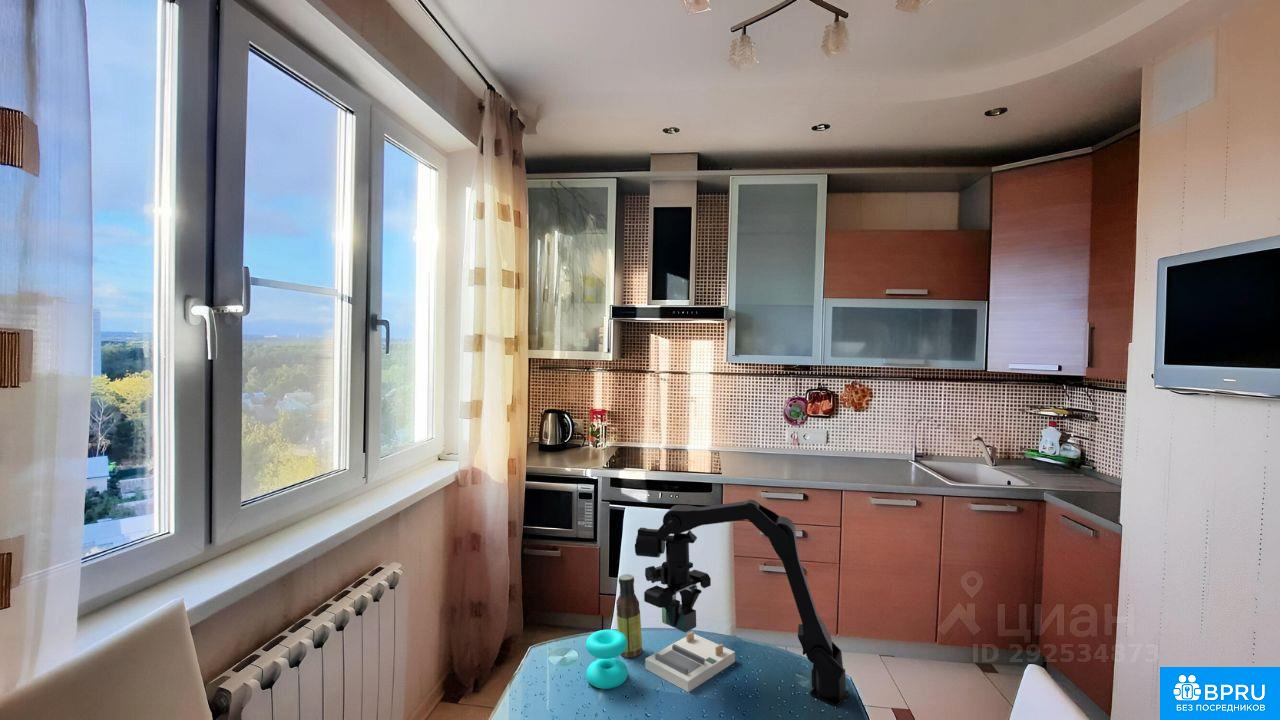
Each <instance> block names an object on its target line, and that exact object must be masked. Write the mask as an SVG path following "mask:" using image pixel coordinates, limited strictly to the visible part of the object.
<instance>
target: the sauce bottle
mask: <svg viewBox="0 0 1280 720" xmlns="http://www.w3.org/2000/svg"><path fill="white" fill-rule="evenodd" d="M618 584H619V596H618V598H617V599H616V603H615V604H616V622H617V623H616V626H617V631H619V632H621V633H622V634H624V635H625V637H626V639H627V647H626V649H625V651H624V652H623V653H622V654H621V655H620V656H622V657H624V658H635V657H638V656H640V655H641V654H642V651H643V640H642V637H643V636H642V623H641V622H642V621H641V620H642V619H641V610H640V601H639V600H638V597H637V595H636V594H635V576H634V575H632V574H629V573H626V574H625V573H624V574H622V575H619V577H618Z"/></svg>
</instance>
